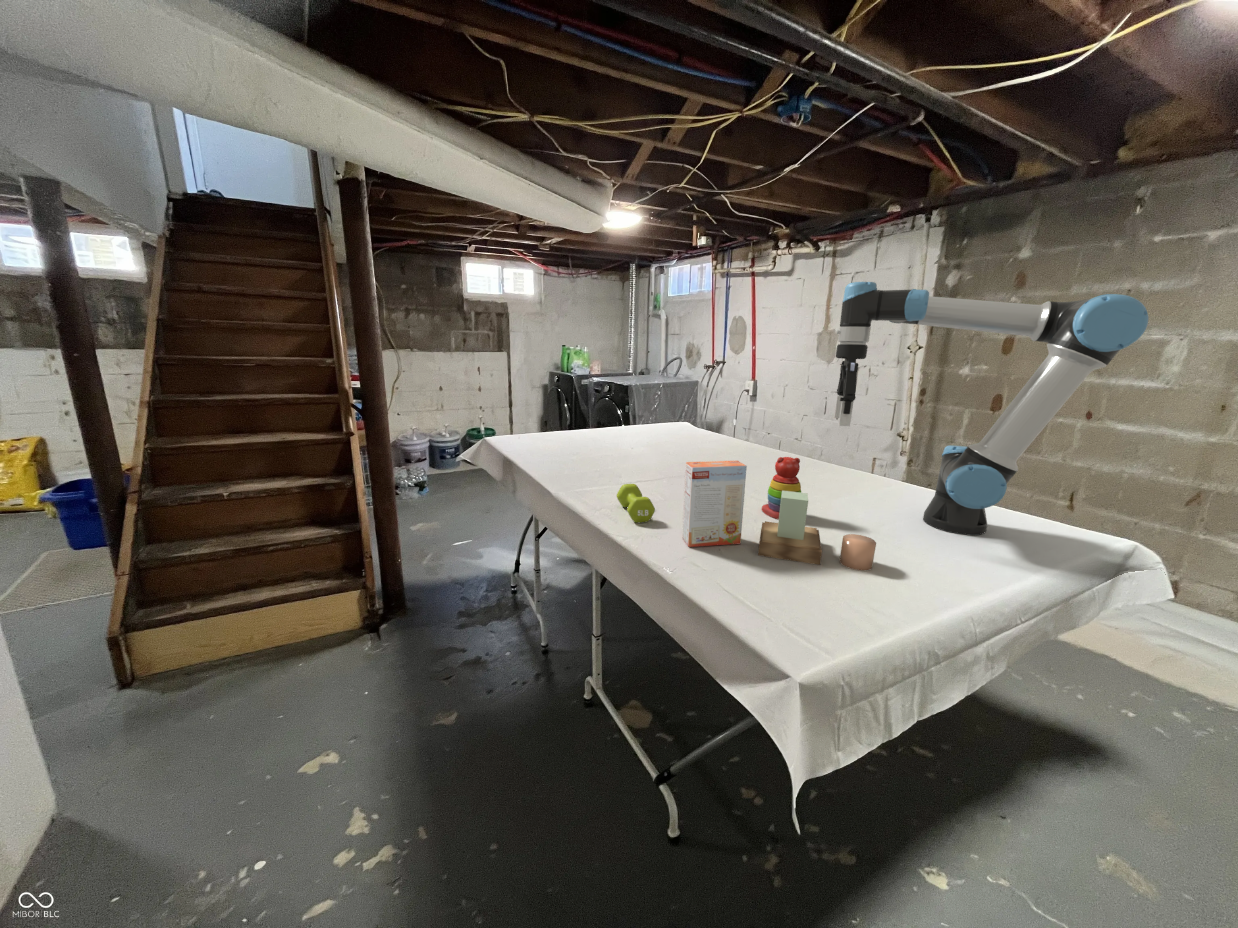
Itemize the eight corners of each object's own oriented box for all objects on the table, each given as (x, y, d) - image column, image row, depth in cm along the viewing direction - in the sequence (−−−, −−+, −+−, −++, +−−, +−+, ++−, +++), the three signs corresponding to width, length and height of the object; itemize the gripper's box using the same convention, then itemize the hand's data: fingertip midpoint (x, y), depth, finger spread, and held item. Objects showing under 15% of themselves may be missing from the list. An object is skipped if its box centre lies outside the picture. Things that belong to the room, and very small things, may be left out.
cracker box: (731, 535, 128) (738, 459, 123) (741, 545, 123) (748, 465, 117) (680, 538, 126) (685, 460, 121) (687, 547, 120) (692, 466, 115)
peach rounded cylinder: (869, 559, 116) (873, 536, 114) (874, 572, 110) (878, 548, 108) (838, 555, 118) (841, 532, 117) (840, 567, 112) (844, 543, 110)
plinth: (817, 542, 125) (819, 527, 124) (820, 564, 113) (822, 549, 112) (761, 534, 130) (762, 520, 129) (757, 555, 117) (759, 540, 116)
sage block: (802, 531, 122) (807, 493, 119) (803, 540, 116) (808, 500, 114) (777, 527, 124) (782, 490, 121) (777, 536, 118) (781, 497, 116)
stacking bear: (795, 509, 149) (802, 453, 145) (804, 521, 139) (812, 462, 135) (760, 507, 150) (765, 452, 146) (766, 519, 140) (772, 460, 136)
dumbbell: (655, 523, 136) (657, 499, 134) (628, 525, 134) (629, 500, 133) (640, 504, 152) (640, 482, 150) (615, 505, 150) (615, 483, 148)
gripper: (833, 343, 142) (824, 414, 148) (842, 343, 120) (830, 428, 125) (861, 343, 140) (851, 416, 145) (875, 344, 117) (862, 430, 123)
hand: (841, 422), depth 135 cm, fingers open, 13 cm apart
